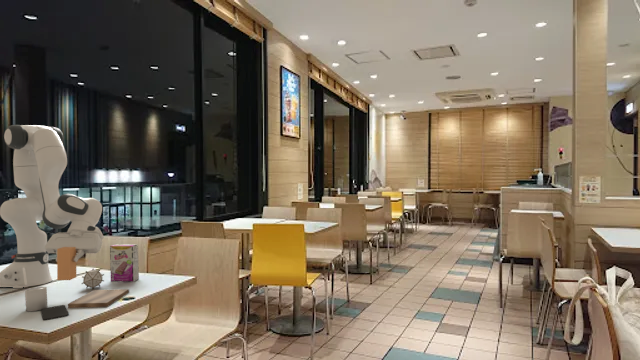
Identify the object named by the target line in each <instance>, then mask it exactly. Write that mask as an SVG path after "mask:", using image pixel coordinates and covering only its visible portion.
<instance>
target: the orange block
mask: <svg viewBox="0 0 640 360" xmlns="http://www.w3.org/2000/svg"><path fill="white" fill-rule="evenodd" d="M75 248H76V247H62V248H59V249H57V254H56V257H57V262H56V265H57V267H56V269H57V270H56V271H57V281H72V280H74V279H75V278H77V262H72V257H73V256H76V255H77V253H76V249H75Z"/></svg>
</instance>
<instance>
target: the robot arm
mask: <svg viewBox="0 0 640 360" xmlns="http://www.w3.org/2000/svg"><path fill="white" fill-rule="evenodd" d="M3 137H4V143H5V145H6V146H7V147H8V148H10V149H14V151H13V159H12V162H13V163H12V165H13V180H14V181H13V182H14V184H15V186H16V187H17V188H19V189H20V190H22V191H23V192H24V194H25V196H26V197H18V198H17V197H16V198H12V199H8V200H5V201H4V202H3V203H2V204H1V205H0V218H1V219H2V220H3V221H4V222H5V223H8V225H10V227H11V228H12V229H13V231H14V233H15V235H16V236H15V237H16V245H17V246H16V247H17V253H15V254H14V255H12V256H11V259H13V262H11V263H10V264H9V265H8V266H7V267H5V268H3V269H2V270H1V271H0V287H13V288H12V289H23V287H24V288H28V287H34V286H39V285H40V286H41V285H45V284H48V283H50V282H52V281H53V278H52V276H51V272H50V267H49V259H50V257H49V254H55V255H57V249H59V248H62V247H76V248H75V249H76V256H73V257H72V262H76V263H78V261H79V259H81V258H82V257H83V256H84V255H85V254H97V253H99V252H100V251H101V248H102V246H103V239H104V234H103V233H102V231H101V229H100V227H98V226H96V225H97V224H98V222H99V220H100V218H101V217H102V216H101V215H102V213H103V205H102V203H101V202H100V201H99V200H98V199H96V198H94V197H80V196H78V195H75V194H73V193H64V194H63V193H62V194H61V195H60V190H59V183H60V180H61V178H62V175H63V173H64V171H65V170H66V167H67V165H68V158H67V157H68V156H67V151H66V149H65V146H64V134H63V131H62V130H61V129H60V128H58V127H54V126H46V125H37V124H33V125H31V124H30V125H29V124H25V125H23V124H21V125H20V124H12V125H9V126H7V127H6V128H5V131H4V135H3ZM38 221H42V222H43V223H44V224H45V225H46V226H47V227H49V228H51V229H54V230H59V229H60V230H61V229H64V228H65V227H67V226H68V225H69V224H70V222H71V224H70V225H69V228H68V229H67V231H64V232H61V231H58V232H56V233H54V234H52V235H51V237H50V238H49V239H48V235H47V233H46V232H45V231H44V230H41V229H40V228H39V226H38V224H37V222H38ZM55 261H56V263H57V256H56V258H55Z"/></svg>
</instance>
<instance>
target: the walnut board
mask: <svg viewBox="0 0 640 360" xmlns="http://www.w3.org/2000/svg"><path fill="white" fill-rule="evenodd" d="M129 293H130V289H129V288H126V289H125V288H124V289H123V288H121V289H118V288H117V289H92V290H91V291H90V292H88V293H86V294H84V295H82V296H80V297H78V298H77V299H75V300H73V301H70V302H68V303H67V309H74V308H75V309H76V308H77V309H79V308H80V309H81V308H83V309H85V308H107V307H109V306H111V305H112V304H114V303H116V302H117V301H119V300H120V299H121V298H124V297H125V296H126V295H128V294H129Z"/></svg>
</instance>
